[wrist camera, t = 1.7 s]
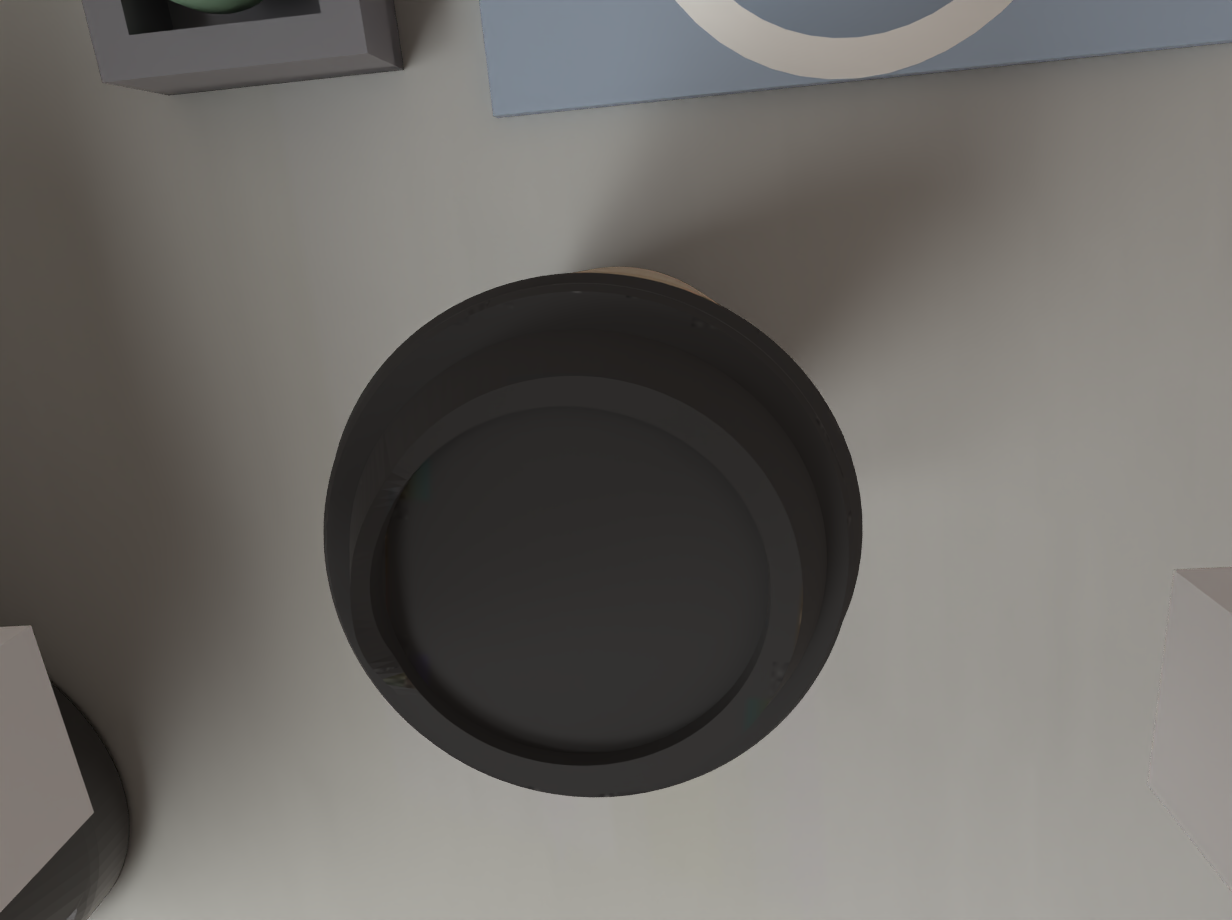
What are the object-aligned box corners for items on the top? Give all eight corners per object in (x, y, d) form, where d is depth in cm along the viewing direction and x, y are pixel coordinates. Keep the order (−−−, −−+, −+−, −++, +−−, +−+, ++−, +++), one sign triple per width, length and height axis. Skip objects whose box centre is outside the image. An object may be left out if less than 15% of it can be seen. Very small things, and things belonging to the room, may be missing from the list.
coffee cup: (791, 246, 24) (964, 323, 10) (752, 530, 27) (845, 901, 13) (486, 221, 25) (241, 262, 11) (478, 505, 28) (276, 840, 13)
